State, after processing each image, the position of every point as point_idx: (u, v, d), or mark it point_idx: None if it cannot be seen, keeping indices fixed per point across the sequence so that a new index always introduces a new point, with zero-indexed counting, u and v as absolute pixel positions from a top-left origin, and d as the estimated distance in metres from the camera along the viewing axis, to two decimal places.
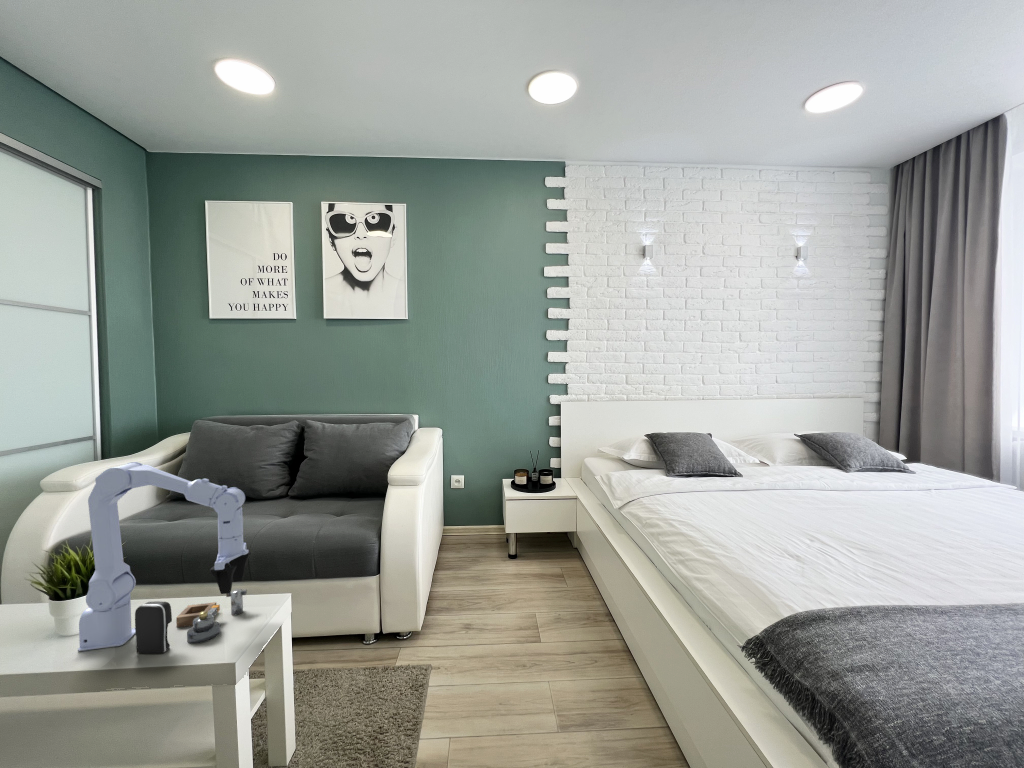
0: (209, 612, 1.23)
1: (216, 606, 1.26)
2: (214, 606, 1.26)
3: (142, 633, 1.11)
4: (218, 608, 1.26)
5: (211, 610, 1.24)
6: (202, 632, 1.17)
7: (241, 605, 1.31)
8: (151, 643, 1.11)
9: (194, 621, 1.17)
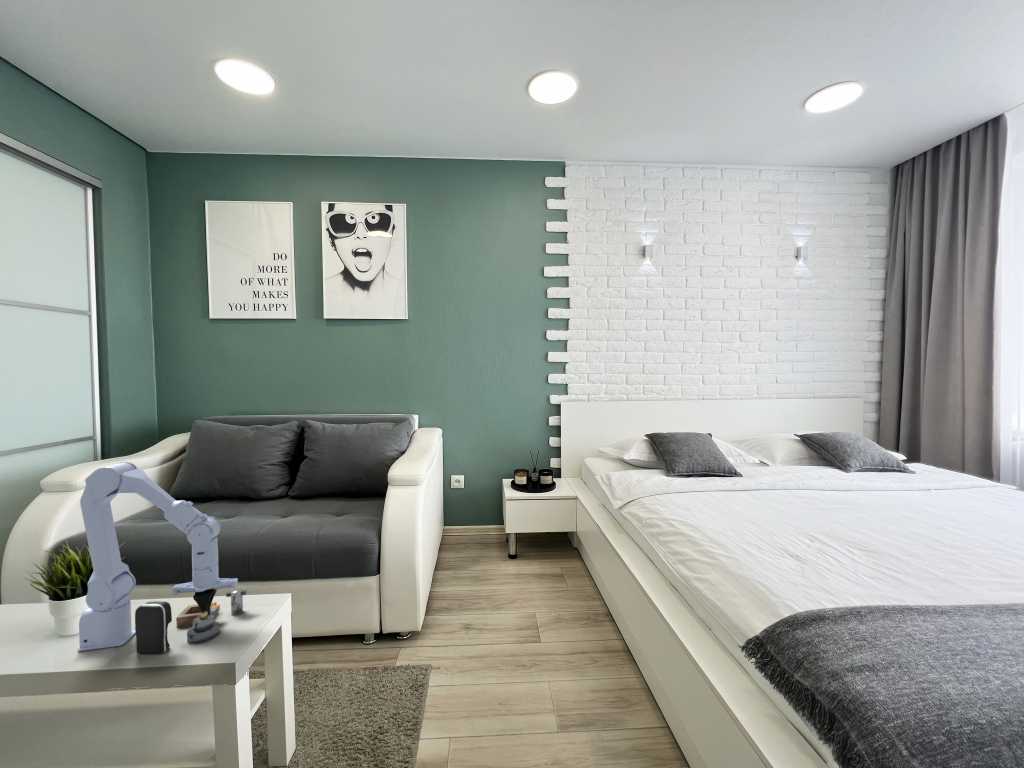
0: (209, 612, 1.23)
1: (216, 606, 1.26)
2: (214, 606, 1.26)
3: (142, 633, 1.11)
4: (218, 608, 1.26)
5: (211, 610, 1.24)
6: (202, 632, 1.17)
7: (241, 605, 1.31)
8: (151, 643, 1.11)
9: (194, 621, 1.17)
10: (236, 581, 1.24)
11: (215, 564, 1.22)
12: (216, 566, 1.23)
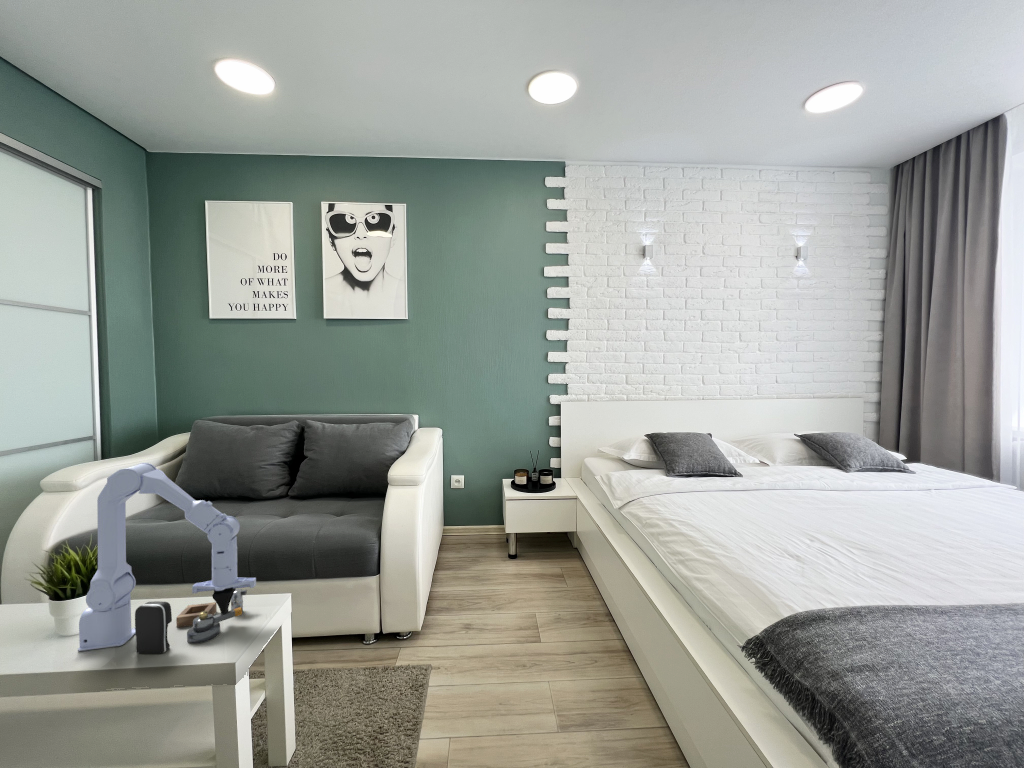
0: (222, 613, 1.22)
1: (237, 609, 1.24)
2: (236, 609, 1.24)
3: (142, 633, 1.11)
4: (236, 612, 1.23)
5: (227, 612, 1.23)
6: (202, 632, 1.17)
7: (241, 605, 1.31)
8: (151, 643, 1.11)
9: (196, 618, 1.19)
10: (254, 580, 1.25)
11: (234, 563, 1.24)
12: (235, 565, 1.24)
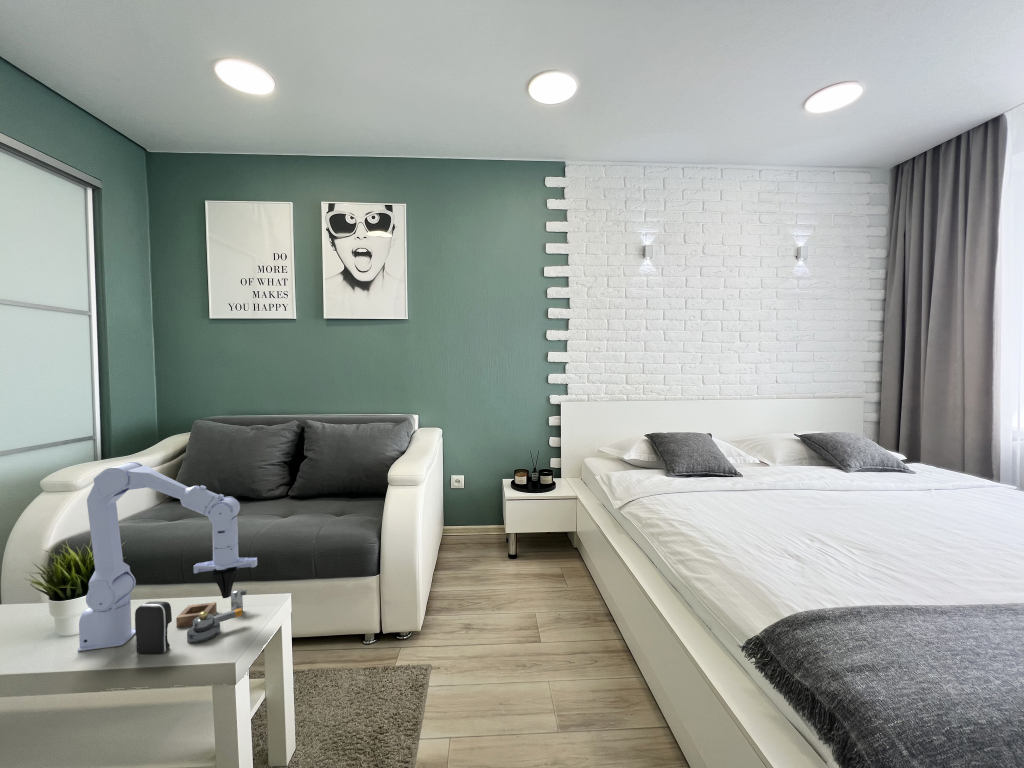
0: (223, 614, 1.22)
1: (237, 610, 1.23)
2: (237, 609, 1.24)
3: (142, 633, 1.11)
4: (237, 613, 1.23)
5: (228, 612, 1.22)
6: (202, 632, 1.17)
7: (241, 605, 1.31)
8: (151, 643, 1.11)
9: (197, 617, 1.19)
10: (256, 560, 1.25)
11: (235, 543, 1.24)
12: (236, 545, 1.24)
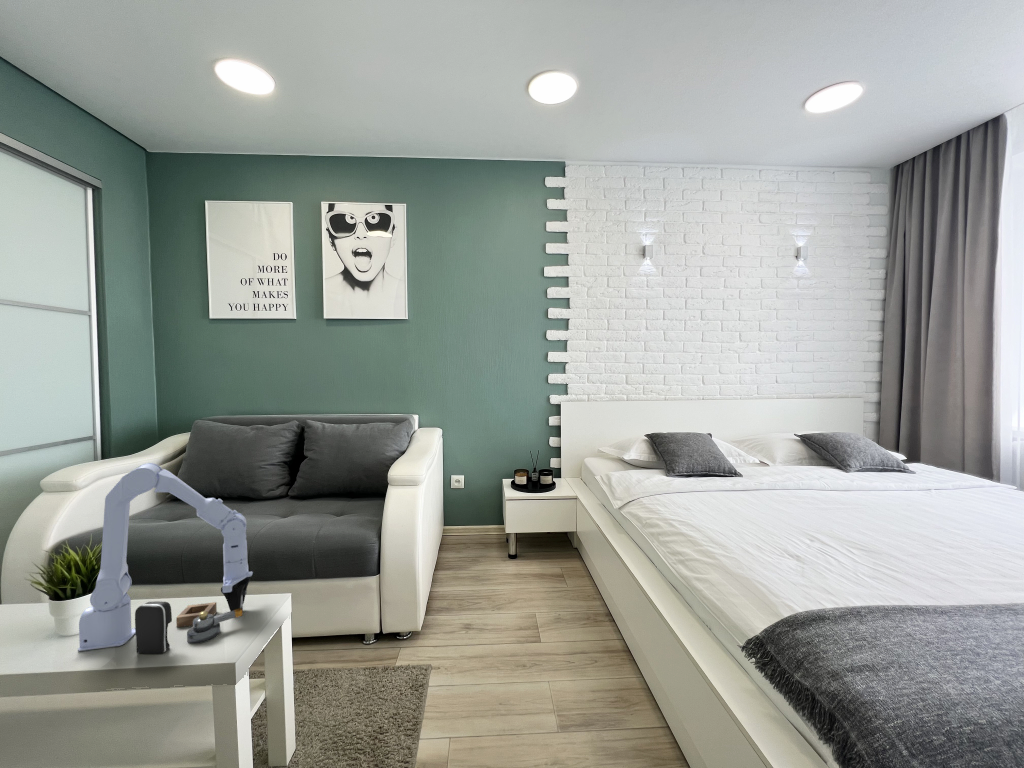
0: (223, 614, 1.22)
1: (237, 610, 1.23)
2: (237, 609, 1.24)
3: (142, 633, 1.11)
4: (237, 613, 1.23)
5: (228, 612, 1.22)
6: (202, 632, 1.17)
7: (241, 605, 1.31)
8: (151, 643, 1.11)
9: (197, 617, 1.19)
10: None
11: (246, 556, 1.31)
12: None
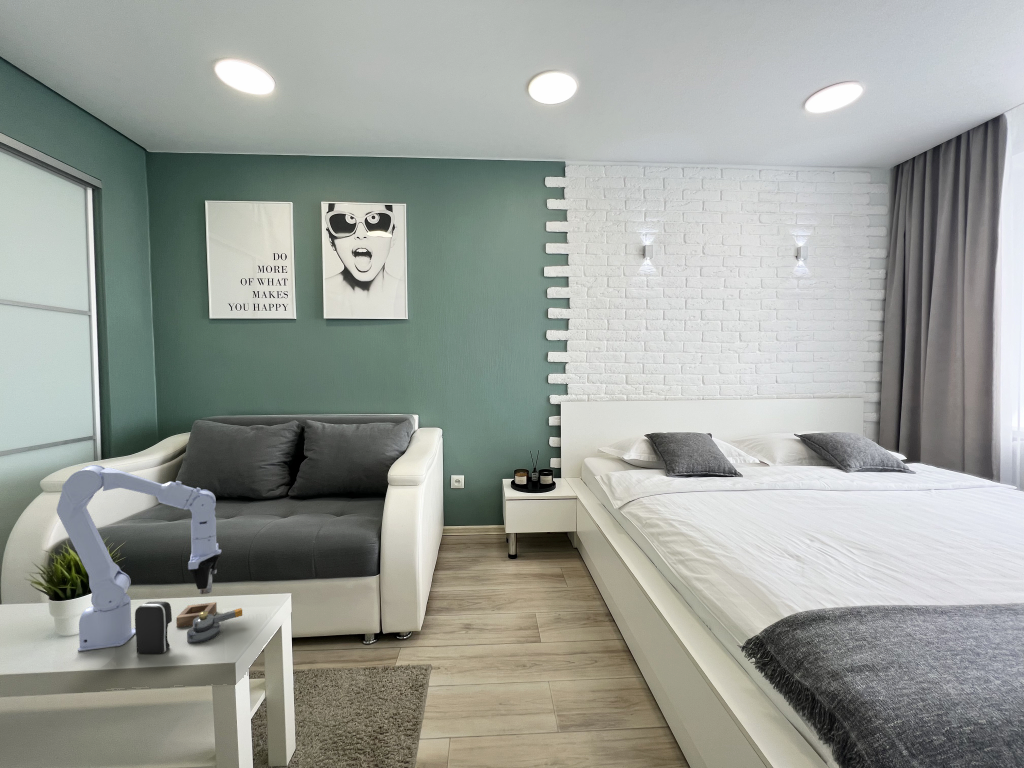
0: (223, 614, 1.22)
1: (237, 610, 1.23)
2: (237, 609, 1.24)
3: (142, 633, 1.11)
4: (237, 613, 1.23)
5: (228, 612, 1.22)
6: (202, 632, 1.17)
7: (210, 584, 1.28)
8: (151, 643, 1.11)
9: (197, 617, 1.19)
10: None
11: (215, 533, 1.29)
12: None
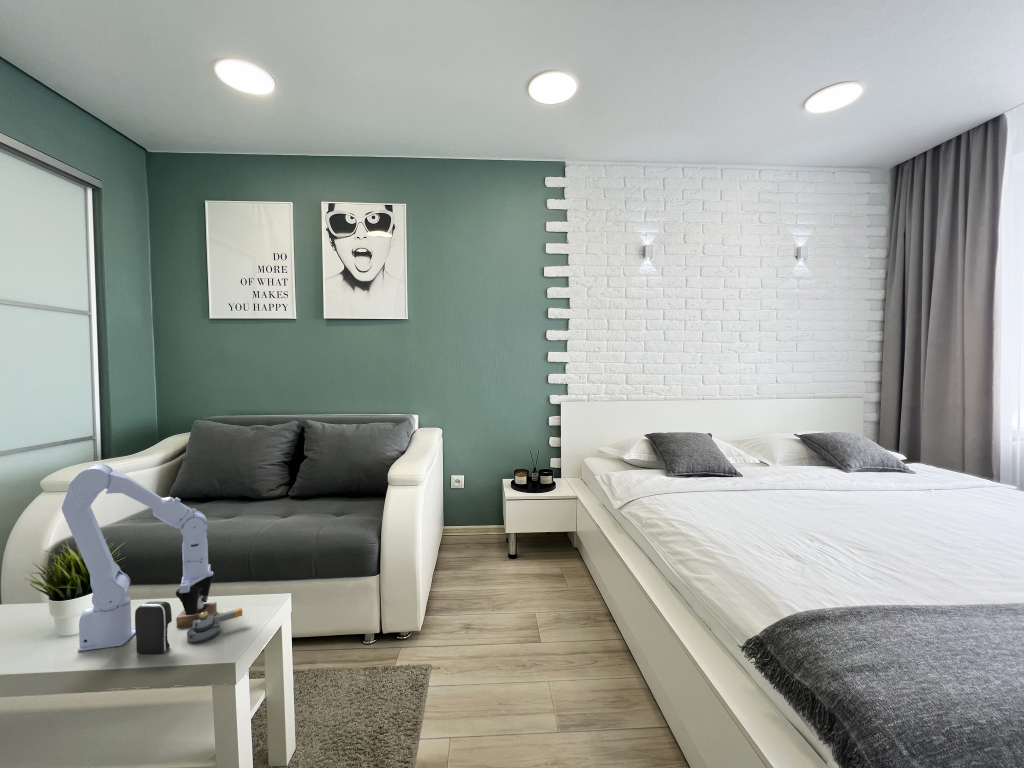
0: (223, 614, 1.22)
1: (237, 610, 1.23)
2: (237, 609, 1.24)
3: (142, 633, 1.11)
4: (237, 613, 1.23)
5: (228, 612, 1.22)
6: (202, 632, 1.17)
7: None
8: (151, 643, 1.11)
9: (197, 617, 1.19)
10: None
11: (207, 555, 1.28)
12: None
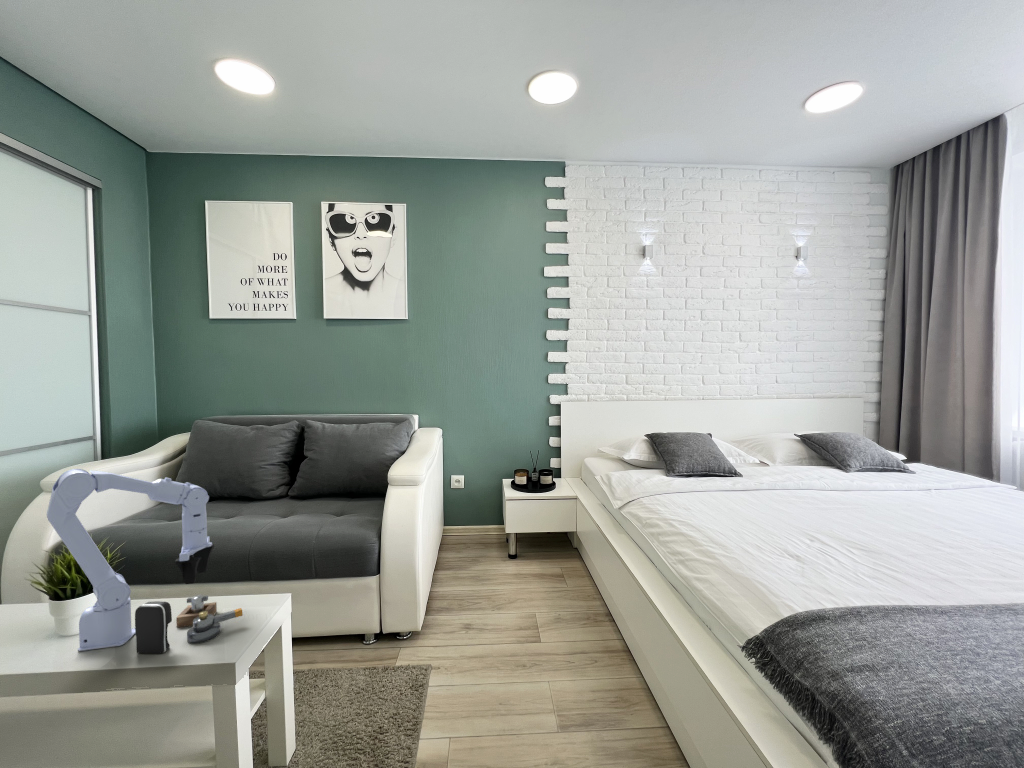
0: (223, 614, 1.22)
1: (237, 610, 1.23)
2: (237, 609, 1.24)
3: (142, 633, 1.11)
4: (237, 613, 1.23)
5: (228, 612, 1.22)
6: (202, 632, 1.17)
7: None
8: (151, 643, 1.11)
9: (197, 617, 1.19)
10: None
11: (206, 525, 1.32)
12: None
